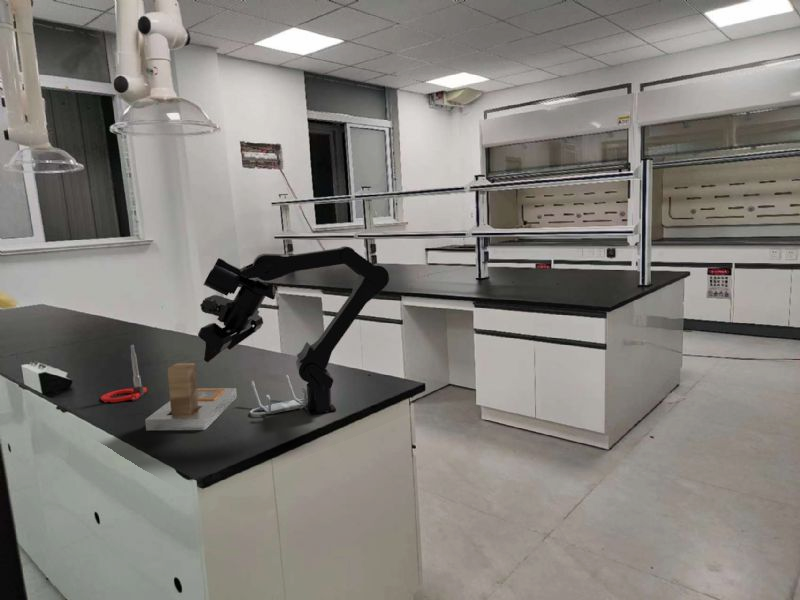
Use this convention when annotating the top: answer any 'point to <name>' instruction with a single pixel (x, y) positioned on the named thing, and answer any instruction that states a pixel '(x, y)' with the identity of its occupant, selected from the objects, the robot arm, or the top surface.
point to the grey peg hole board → (208, 411)
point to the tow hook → (136, 391)
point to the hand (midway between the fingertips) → (217, 354)
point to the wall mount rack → (280, 406)
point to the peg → (183, 389)
